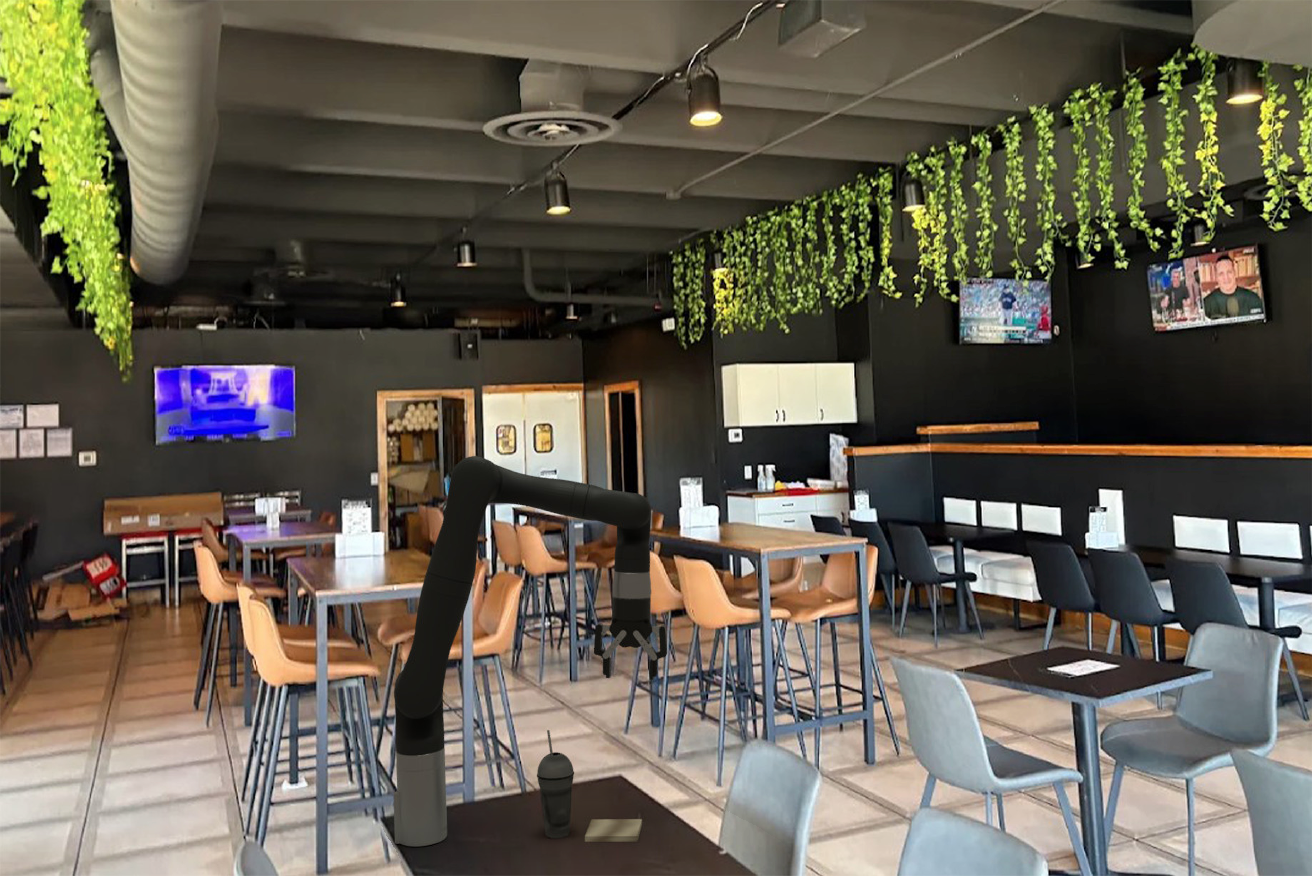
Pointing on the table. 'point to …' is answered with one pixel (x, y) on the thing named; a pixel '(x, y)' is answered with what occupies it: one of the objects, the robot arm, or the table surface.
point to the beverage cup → (555, 792)
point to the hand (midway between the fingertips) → (630, 678)
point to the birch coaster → (613, 830)
